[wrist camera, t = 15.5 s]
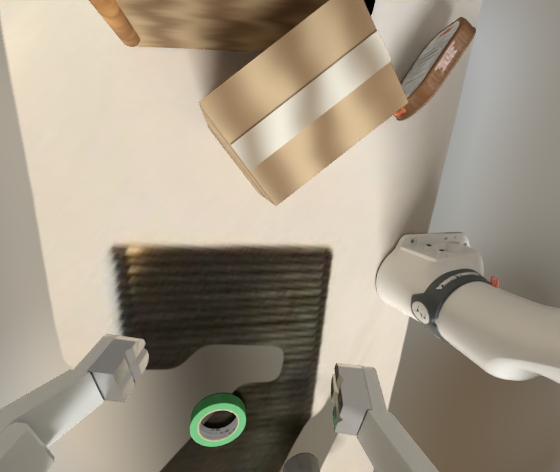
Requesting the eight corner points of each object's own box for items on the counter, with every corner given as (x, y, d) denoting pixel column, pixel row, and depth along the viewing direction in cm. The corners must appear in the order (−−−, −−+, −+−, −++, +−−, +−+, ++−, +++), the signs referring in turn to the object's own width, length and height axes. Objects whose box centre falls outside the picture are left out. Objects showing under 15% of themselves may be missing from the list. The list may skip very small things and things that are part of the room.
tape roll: (242, 386, 51) (243, 398, 49) (247, 426, 54) (248, 438, 52) (187, 399, 49) (185, 411, 47) (195, 439, 52) (194, 452, 50)
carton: (302, 56, 37) (355, -22, 22) (341, 126, 41) (409, 102, 26) (209, 129, 37) (198, 101, 22) (257, 192, 41) (276, 206, 26)
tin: (388, 125, 43) (425, 115, 35) (376, 114, 42) (411, 101, 34) (440, 47, 41) (491, 18, 34) (429, 33, 40) (479, 0, 33)
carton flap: (300, 41, 36) (349, -41, 22) (301, 60, 37) (349, -8, 23) (123, 32, 32) (40, -79, 18) (127, 53, 33) (50, -37, 18)
